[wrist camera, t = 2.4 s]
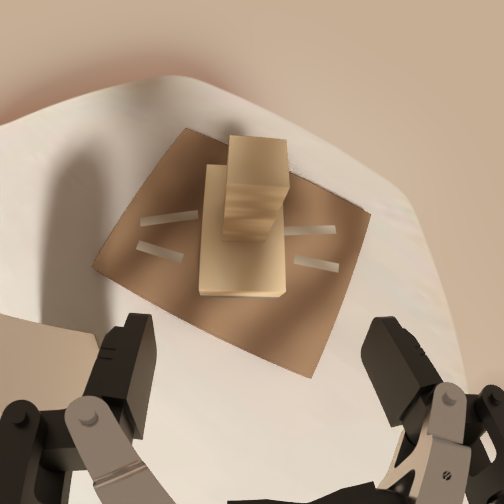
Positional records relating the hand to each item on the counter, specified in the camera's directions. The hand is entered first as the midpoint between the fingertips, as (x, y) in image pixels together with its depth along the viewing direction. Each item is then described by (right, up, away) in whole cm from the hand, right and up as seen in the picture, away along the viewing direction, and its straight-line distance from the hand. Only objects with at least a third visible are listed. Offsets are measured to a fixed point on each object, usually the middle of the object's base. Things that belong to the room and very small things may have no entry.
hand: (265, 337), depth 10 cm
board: (-2, +4, +16) cm, 16 cm away
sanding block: (-1, +4, +15) cm, 15 cm away
